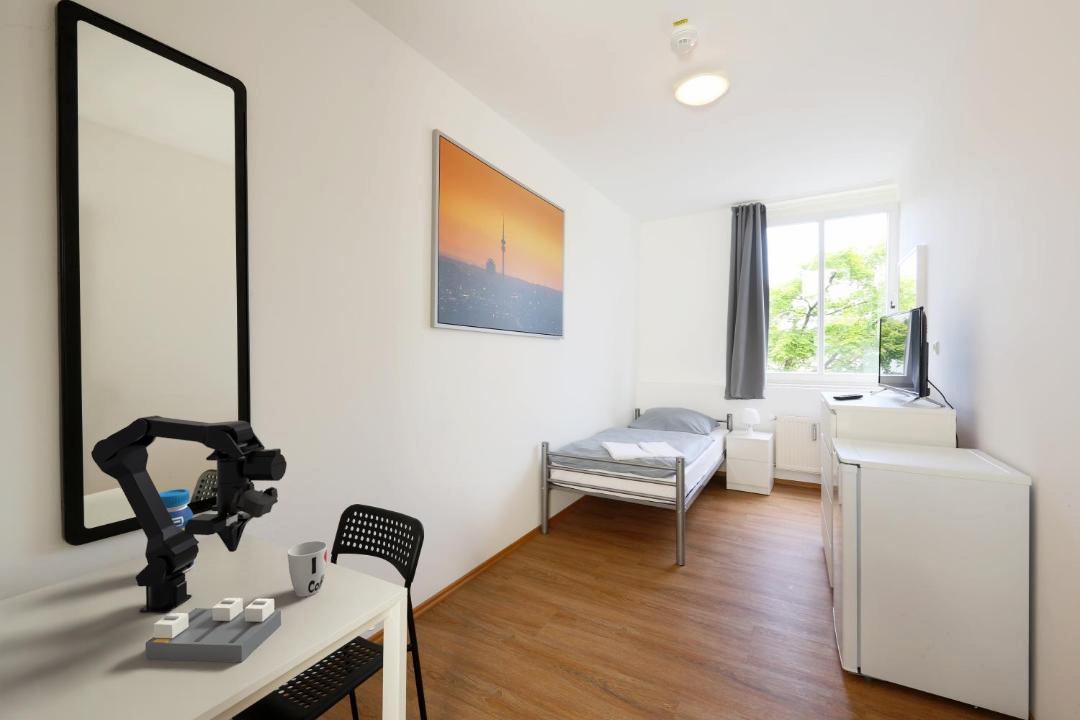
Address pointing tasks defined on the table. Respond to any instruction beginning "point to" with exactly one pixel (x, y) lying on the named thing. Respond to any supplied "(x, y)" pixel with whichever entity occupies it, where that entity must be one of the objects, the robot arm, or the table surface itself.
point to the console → (214, 638)
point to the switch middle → (227, 609)
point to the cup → (307, 567)
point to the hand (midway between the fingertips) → (232, 551)
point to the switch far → (259, 610)
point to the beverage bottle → (178, 507)
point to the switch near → (171, 625)
